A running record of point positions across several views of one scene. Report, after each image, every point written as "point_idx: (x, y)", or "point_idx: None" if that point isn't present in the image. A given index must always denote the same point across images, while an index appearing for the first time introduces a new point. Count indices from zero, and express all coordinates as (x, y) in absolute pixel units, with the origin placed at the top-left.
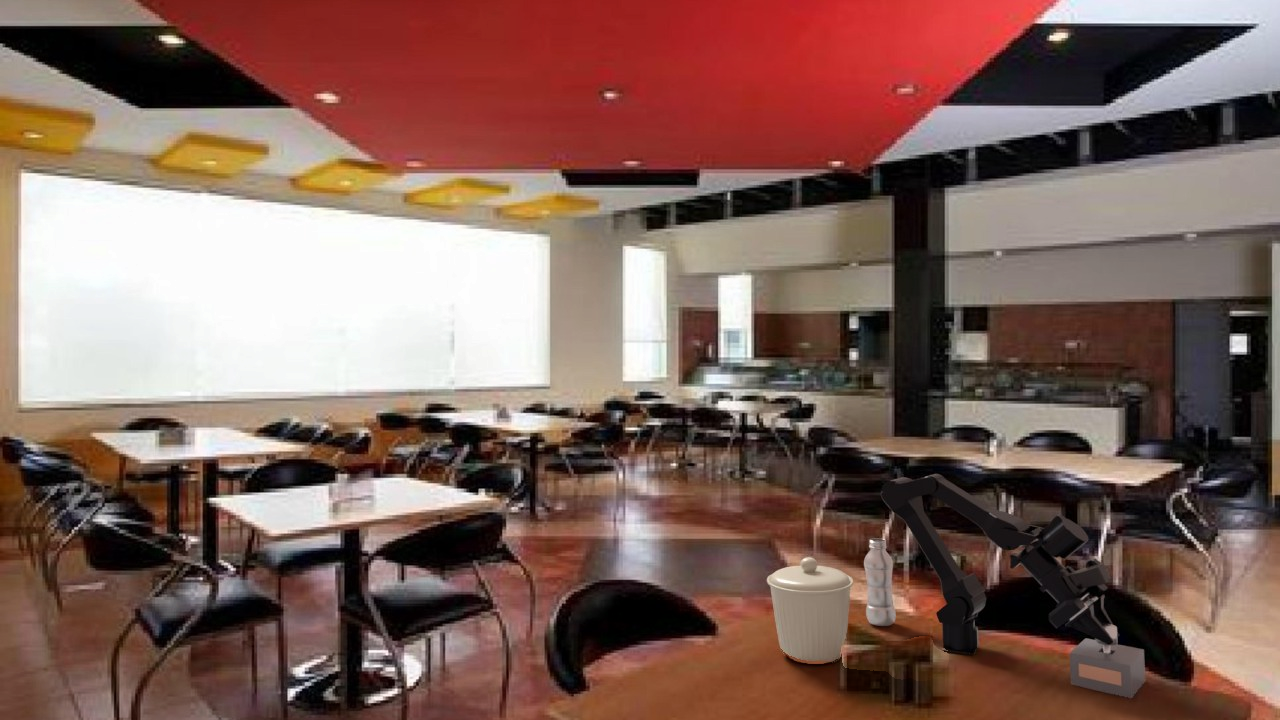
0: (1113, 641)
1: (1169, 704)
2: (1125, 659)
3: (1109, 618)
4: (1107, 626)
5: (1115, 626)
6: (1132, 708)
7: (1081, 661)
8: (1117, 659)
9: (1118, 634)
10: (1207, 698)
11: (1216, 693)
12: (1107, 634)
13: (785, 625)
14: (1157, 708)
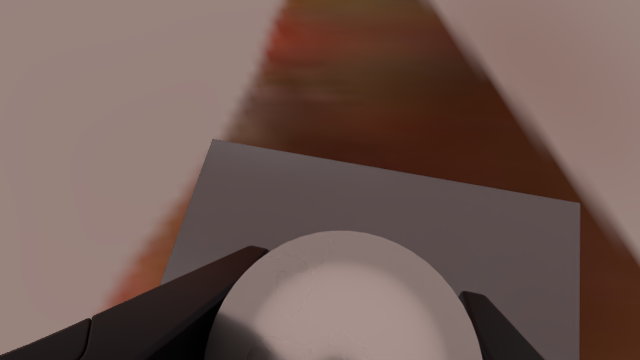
0: (465, 291)
1: (477, 126)
2: (470, 233)
3: (101, 316)
4: (344, 343)
5: (303, 247)
6: (622, 251)
7: None
8: (506, 283)
9: (257, 249)
10: (343, 26)
11: (282, 6)
12: (527, 343)
13: None
14: (550, 162)
